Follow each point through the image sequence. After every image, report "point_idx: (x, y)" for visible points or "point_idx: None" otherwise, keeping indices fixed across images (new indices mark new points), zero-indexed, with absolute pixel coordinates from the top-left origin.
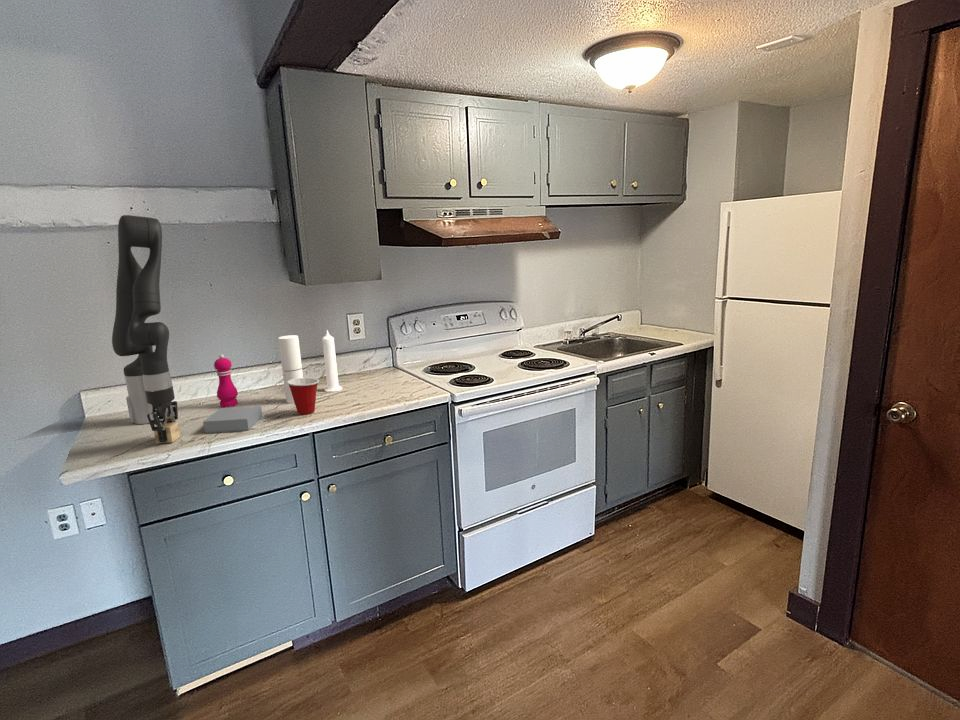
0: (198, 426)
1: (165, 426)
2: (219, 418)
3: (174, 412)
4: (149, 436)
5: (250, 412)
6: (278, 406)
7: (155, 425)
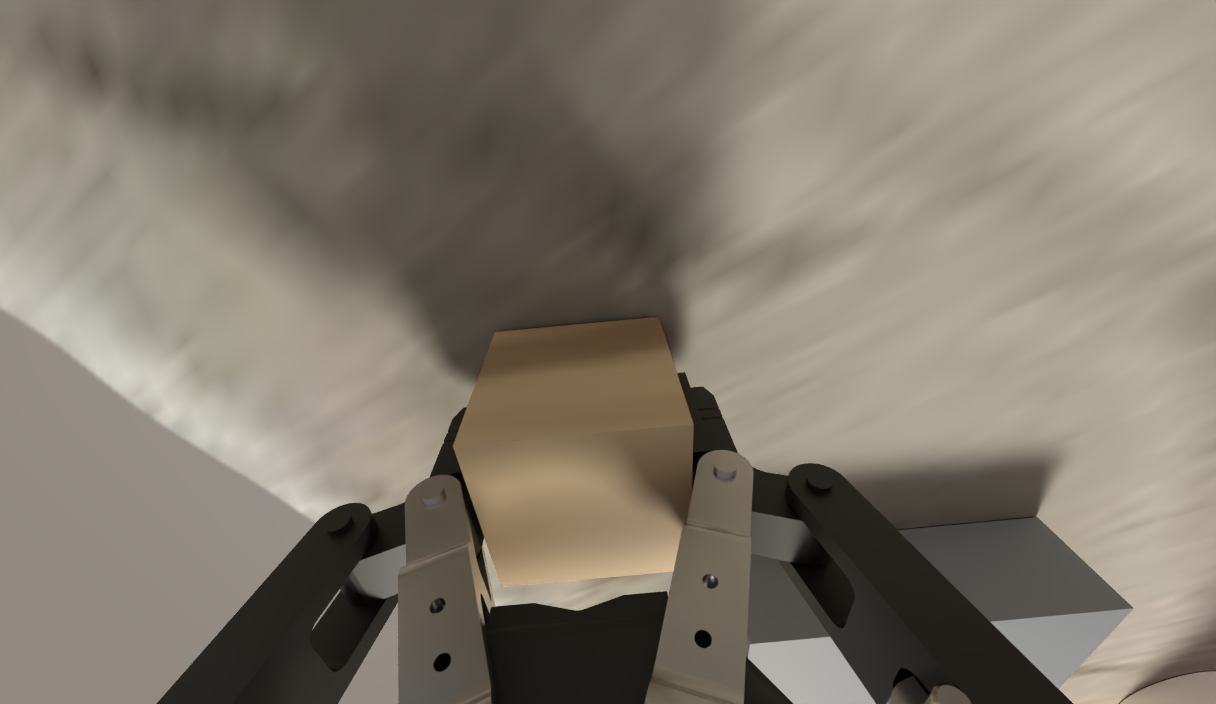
0: (922, 439)
1: (537, 535)
2: (795, 693)
3: (833, 630)
4: (768, 74)
5: None
6: (1109, 671)
7: (408, 544)
